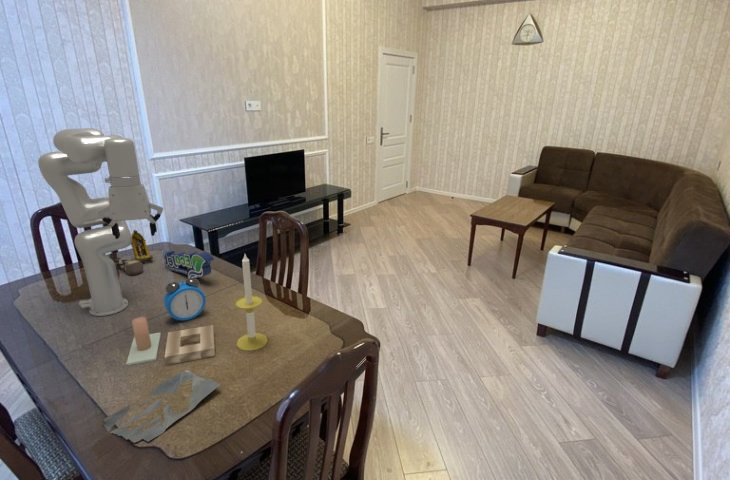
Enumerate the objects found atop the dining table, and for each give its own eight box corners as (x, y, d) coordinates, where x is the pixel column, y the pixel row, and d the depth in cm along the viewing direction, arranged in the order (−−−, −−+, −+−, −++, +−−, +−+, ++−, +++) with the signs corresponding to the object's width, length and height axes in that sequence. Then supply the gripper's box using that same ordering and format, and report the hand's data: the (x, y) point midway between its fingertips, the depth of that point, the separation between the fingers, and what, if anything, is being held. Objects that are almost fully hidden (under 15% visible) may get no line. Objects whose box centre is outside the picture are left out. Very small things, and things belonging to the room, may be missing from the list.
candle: (241, 354, 125) (232, 261, 114) (233, 338, 133) (224, 250, 122) (271, 345, 130) (266, 255, 119) (262, 330, 138) (255, 245, 127)
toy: (126, 254, 186) (141, 254, 178) (130, 269, 188) (146, 270, 179) (110, 258, 181) (125, 259, 172) (115, 274, 182) (130, 276, 174)
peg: (136, 351, 123) (130, 324, 120) (138, 344, 127) (132, 318, 123) (150, 349, 125) (145, 322, 121) (152, 342, 128) (147, 315, 125)
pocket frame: (165, 365, 119) (164, 357, 118) (169, 340, 131) (168, 332, 130) (214, 356, 124) (213, 348, 123) (213, 332, 136) (212, 325, 135)
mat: (126, 365, 118) (126, 363, 118) (134, 338, 131) (134, 336, 131) (156, 360, 121) (155, 358, 121) (160, 334, 134) (160, 332, 134)
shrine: (129, 260, 192) (123, 231, 187) (146, 255, 198) (141, 227, 193) (140, 266, 185) (134, 237, 180) (157, 261, 191) (152, 232, 186)
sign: (167, 273, 185) (160, 246, 181) (174, 271, 188) (168, 244, 184) (210, 285, 165) (204, 255, 161) (218, 282, 168) (212, 252, 164)
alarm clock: (170, 326, 139) (164, 288, 134) (166, 318, 143) (160, 281, 138) (207, 315, 147) (203, 279, 141) (202, 308, 151) (198, 273, 146)
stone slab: (136, 458, 90) (133, 451, 89) (101, 429, 98) (98, 422, 97) (221, 390, 109) (220, 384, 108) (186, 371, 117) (184, 365, 116)
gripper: (87, 185, 108) (100, 242, 114) (157, 182, 114) (165, 237, 120) (94, 180, 115) (106, 234, 121) (159, 177, 121) (167, 229, 127)
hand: (135, 236), depth 120 cm, fingers open, 9 cm apart
